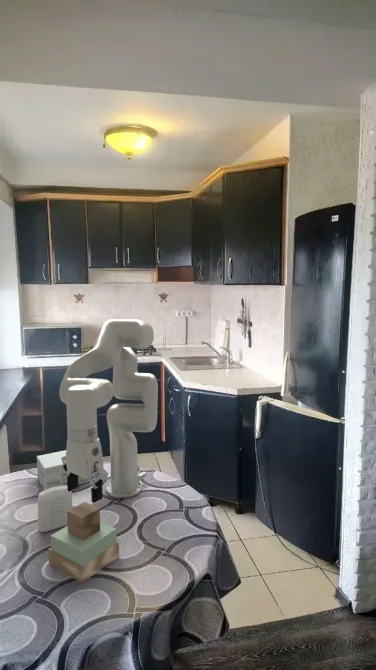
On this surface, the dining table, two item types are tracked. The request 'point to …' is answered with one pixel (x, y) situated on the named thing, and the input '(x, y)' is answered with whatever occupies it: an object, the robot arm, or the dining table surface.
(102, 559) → the maple base block
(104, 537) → the sage top block
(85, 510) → the walnut cube
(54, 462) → the supplement box
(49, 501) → the photo printer
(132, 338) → the robot arm
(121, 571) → the dining table surface
